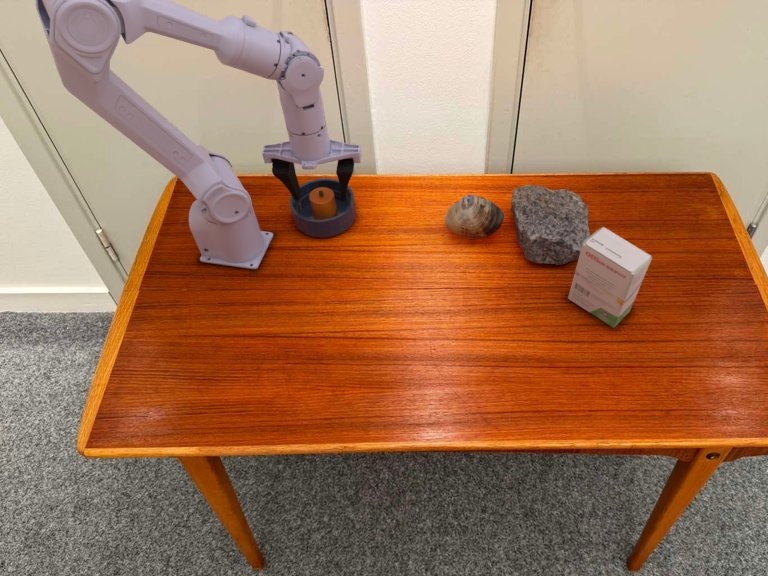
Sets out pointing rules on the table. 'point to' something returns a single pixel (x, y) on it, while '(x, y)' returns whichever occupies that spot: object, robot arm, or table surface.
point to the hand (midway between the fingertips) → (321, 196)
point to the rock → (549, 223)
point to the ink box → (608, 276)
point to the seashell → (474, 217)
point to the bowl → (325, 226)
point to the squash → (323, 203)
